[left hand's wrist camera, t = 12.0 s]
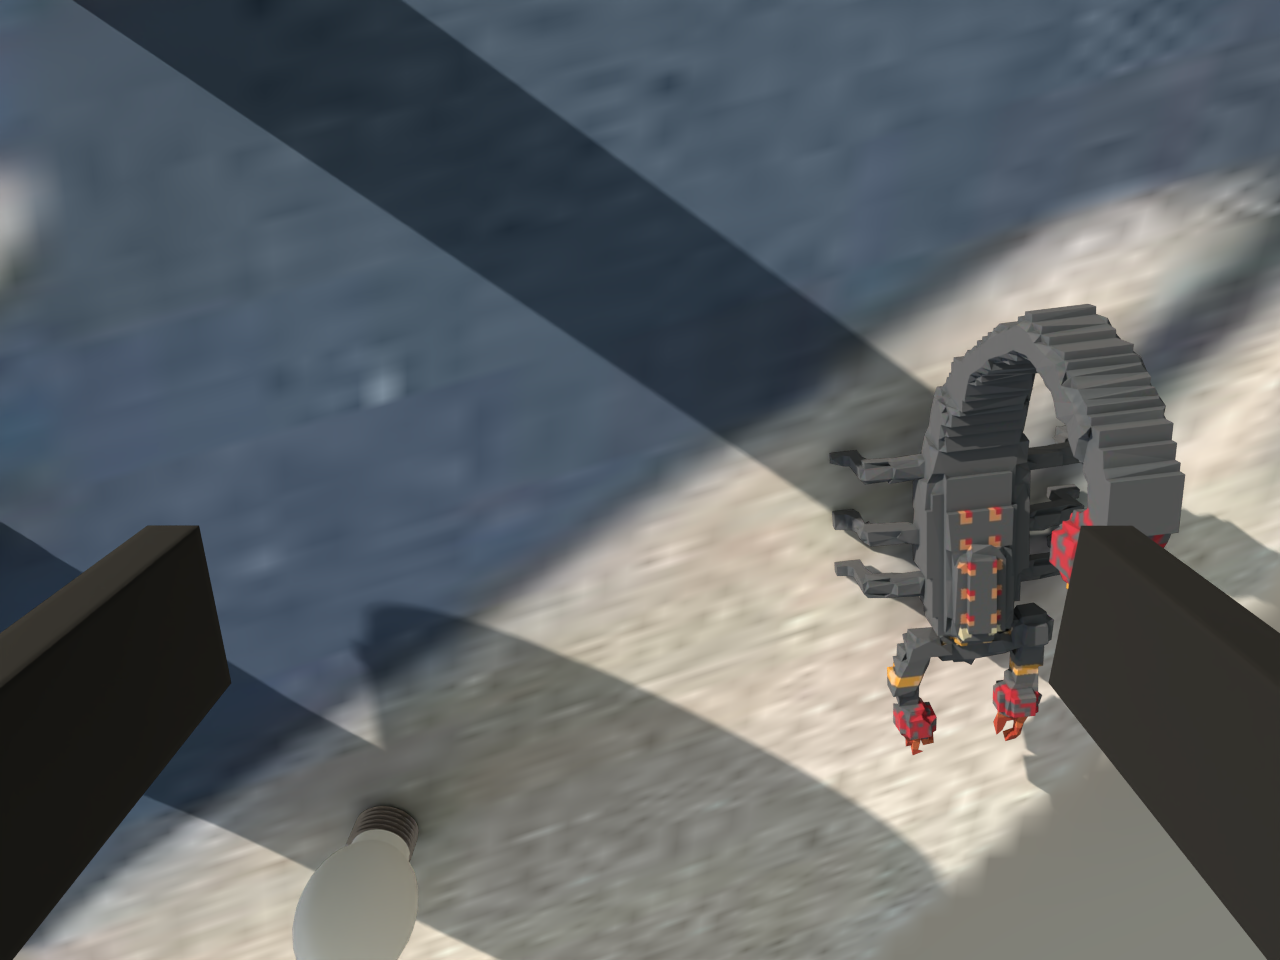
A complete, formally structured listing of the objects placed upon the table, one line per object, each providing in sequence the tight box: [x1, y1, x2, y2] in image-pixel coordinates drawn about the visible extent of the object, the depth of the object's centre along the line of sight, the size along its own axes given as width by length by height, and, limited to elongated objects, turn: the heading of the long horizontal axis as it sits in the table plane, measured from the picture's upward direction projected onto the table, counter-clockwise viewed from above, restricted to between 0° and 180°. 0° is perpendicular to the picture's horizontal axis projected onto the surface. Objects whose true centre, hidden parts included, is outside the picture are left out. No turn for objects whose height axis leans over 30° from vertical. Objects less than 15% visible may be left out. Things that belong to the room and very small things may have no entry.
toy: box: [830, 304, 1185, 755], centre depth 38 cm, size 13×27×18 cm, turn 7°
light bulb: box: [292, 806, 419, 960], centre depth 50 cm, size 7×7×11 cm
